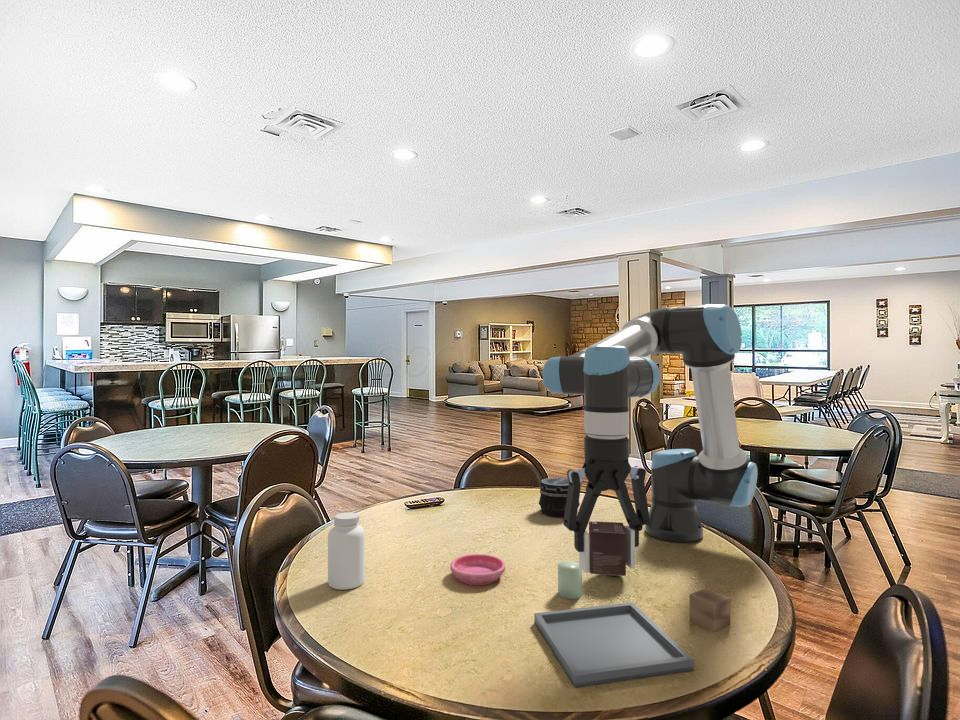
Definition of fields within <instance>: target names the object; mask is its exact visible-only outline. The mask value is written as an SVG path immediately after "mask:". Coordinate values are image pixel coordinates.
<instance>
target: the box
mask: <svg viewBox="0 0 960 720" xmlns="http://www.w3.org/2000/svg"><path fill="white" fill-rule="evenodd" d="M624 526H625V525H624V522H620V521H619V522H618V521H617V522H616V521H615V522H614V521H613V522H612V521H594V520H593V521H589V522H588V533H589V541H590V573H589V574H590V575H602V576H603V575H606V576H611V575H617V576H616V577H624V576H627V571H626V570H627V565H626V532H625V529H624Z"/></svg>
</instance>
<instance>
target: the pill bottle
mask: <svg viewBox="0 0 960 720" xmlns="http://www.w3.org/2000/svg"><path fill="white" fill-rule="evenodd" d="M359 522H360V515H359V513H356V512H346V511H345V512H340V513H338V514H335V515H334V518H333V527H332V528H331V529H329V531H328V533H327V583H328V585H329V587H330V588H331V589H334V590H342V591H343V590H351V589H355V588H357V587H361V586H362V585H363V584H364V582H365V579H366V543H365V542H366V538H365V537H366V536H365V535H366V534H365V533H366V532H365V529H364V528H363V526H361V525H359Z"/></svg>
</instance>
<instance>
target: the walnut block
mask: <svg viewBox="0 0 960 720" xmlns="http://www.w3.org/2000/svg"><path fill="white" fill-rule="evenodd" d="M689 621H690V622H692V623H694V624H696V625H699V626H700V627H702V628H705V629H706V630H708V631H710V632H712V633H713V632H716V631H718V630H721V629H723V628H726V627H729V626H730V625H731V597H729V596H727V595H724V594H721V593H719V592H716V591H714V590H711V589H709V588H708V587H706V588H703V589H701V590H698V591H695V592H692V593H690V594H689Z"/></svg>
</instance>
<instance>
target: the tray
mask: <svg viewBox="0 0 960 720" xmlns="http://www.w3.org/2000/svg"><path fill="white" fill-rule="evenodd" d="M533 618H534V624H535V626H536V628H537V630H538V631H539V632H540V634H541V636H542V638H543V639H544V640H546V641H545V642H546V644H547V645H548V647H549V649H550V648H551V649H550V650H551V652H552V653H553V654H554V655H553V656H555V658H556V660H557V661H558V662H559V665H560V667H562V669H563V671H564V672H565V674H566V676H567V677H568V679H569V680H570V682H571V684H572V685H573V687H574V688H582V687H589V686H596V685H603V684H611V683H616V682H622V681H630V680H636V679H638V680H639V679H644V678H651V677H658V676H665V675H672V674H677V673H686V672H693V671H694V669H695V666H694V661H695V659H694V658H693V657H692V656H691V655H690V654H689V653H688V652H687V651H686V650H685V649H683V648H682V647H681V646H680V645H679V643H677V642H676V641H675V640H673V638H672V637H670V636H669V635H668V633H666V632H665V631H664V630H663V629H662V628H660V626H659V625H658V624H656V623H655V622H654V621H653V620H652V618H650V617H649V616H648V615H647V614H646V613H644V612H643V611H642V609H640V607H638V606H637V604H635V603H634V602H631V601H630V602H624V603H623V602H622V603H614V604H606V605H597V606H587V607H586V606H585V607H578V608H570V609H562V610H561V609H560V610H552V611H543V612H542V611H541V612H534V617H533Z"/></svg>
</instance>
